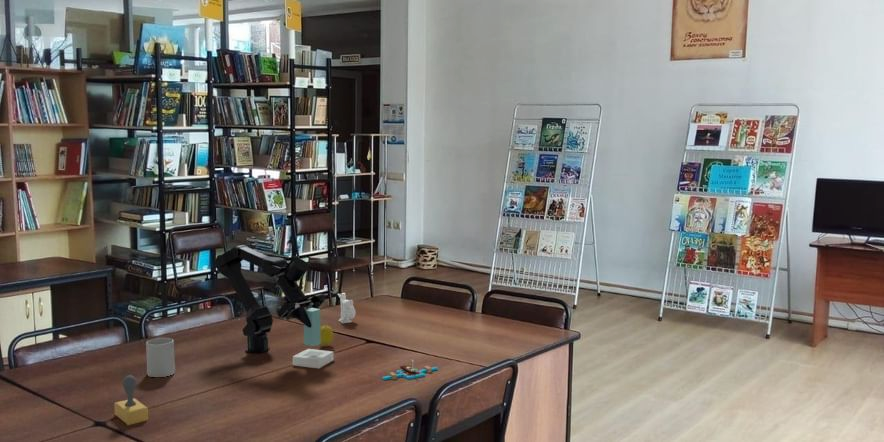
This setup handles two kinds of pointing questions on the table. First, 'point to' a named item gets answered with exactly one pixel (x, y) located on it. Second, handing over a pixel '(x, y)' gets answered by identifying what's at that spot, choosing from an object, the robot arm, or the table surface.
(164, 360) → the mug
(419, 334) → the table surface
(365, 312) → the table surface
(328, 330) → the lemon
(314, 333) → the pillar
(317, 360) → the plinth
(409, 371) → the gear mechanism
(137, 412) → the rubber stamp
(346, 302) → the white upright figurine
